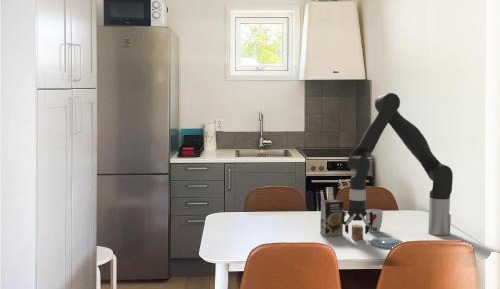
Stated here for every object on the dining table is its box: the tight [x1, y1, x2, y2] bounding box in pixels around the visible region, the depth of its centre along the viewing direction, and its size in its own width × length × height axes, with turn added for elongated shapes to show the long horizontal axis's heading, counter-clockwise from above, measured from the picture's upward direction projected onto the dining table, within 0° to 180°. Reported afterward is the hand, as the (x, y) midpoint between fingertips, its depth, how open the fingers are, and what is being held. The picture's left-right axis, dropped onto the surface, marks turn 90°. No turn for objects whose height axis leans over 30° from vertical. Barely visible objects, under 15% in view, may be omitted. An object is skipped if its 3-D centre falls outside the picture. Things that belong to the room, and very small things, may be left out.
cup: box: [365, 208, 384, 233], centre depth 272 cm, size 8×8×10 cm
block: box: [351, 224, 364, 241], centre depth 257 cm, size 4×4×6 cm
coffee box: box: [319, 199, 344, 237], centre depth 265 cm, size 9×6×16 cm
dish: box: [370, 237, 404, 250], centre depth 248 cm, size 14×14×1 cm
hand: (356, 233), depth 258 cm, fingers open, 8 cm apart
